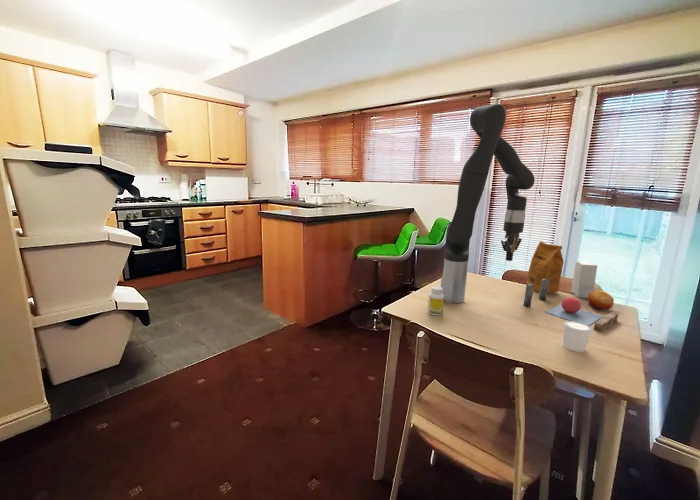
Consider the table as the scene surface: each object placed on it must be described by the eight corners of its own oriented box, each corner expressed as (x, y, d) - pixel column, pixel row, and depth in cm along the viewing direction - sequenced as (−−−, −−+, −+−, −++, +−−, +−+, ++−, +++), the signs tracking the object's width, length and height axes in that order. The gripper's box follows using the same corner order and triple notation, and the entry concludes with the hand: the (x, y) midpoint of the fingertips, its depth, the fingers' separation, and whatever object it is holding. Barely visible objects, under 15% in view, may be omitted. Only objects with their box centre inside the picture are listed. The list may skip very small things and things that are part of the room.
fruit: (600, 299, 132) (610, 287, 127) (609, 315, 127) (620, 303, 121) (579, 298, 133) (588, 286, 128) (587, 314, 128) (598, 302, 122)
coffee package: (539, 284, 154) (546, 240, 149) (561, 293, 143) (570, 245, 138) (522, 286, 152) (528, 240, 147) (543, 295, 140) (551, 246, 135)
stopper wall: (600, 331, 107) (602, 324, 107) (593, 329, 109) (594, 322, 108) (616, 320, 117) (618, 314, 116) (609, 318, 118) (611, 312, 118)
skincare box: (592, 299, 137) (599, 265, 134) (576, 297, 139) (582, 264, 135) (585, 292, 145) (591, 261, 141) (569, 291, 146) (575, 259, 143)
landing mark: (587, 326, 111) (587, 326, 111) (544, 312, 122) (545, 311, 122) (602, 317, 119) (602, 316, 119) (561, 304, 130) (561, 304, 130)
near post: (528, 307, 126) (532, 286, 124) (521, 305, 128) (525, 284, 126) (531, 306, 128) (535, 285, 126) (525, 304, 130) (528, 283, 128)
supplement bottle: (445, 315, 118) (447, 290, 116) (431, 316, 117) (433, 290, 115) (438, 309, 123) (440, 285, 121) (425, 310, 122) (427, 285, 120)
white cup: (555, 341, 100) (558, 320, 99) (575, 341, 101) (579, 320, 99) (571, 353, 94) (575, 331, 92) (593, 352, 94) (598, 330, 93)
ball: (557, 301, 123) (563, 316, 122) (574, 297, 118) (581, 313, 118) (561, 297, 127) (567, 311, 126) (578, 294, 122) (585, 309, 122)
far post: (544, 301, 134) (547, 280, 132) (537, 299, 136) (540, 278, 134) (547, 299, 135) (550, 279, 133) (540, 297, 137) (543, 277, 135)
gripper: (515, 222, 128) (509, 264, 132) (531, 220, 136) (525, 260, 139) (497, 220, 134) (492, 260, 138) (513, 218, 142) (508, 256, 145)
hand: (508, 260), depth 139 cm, fingers closed
